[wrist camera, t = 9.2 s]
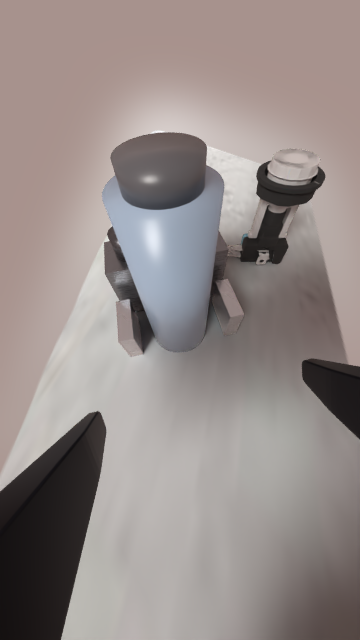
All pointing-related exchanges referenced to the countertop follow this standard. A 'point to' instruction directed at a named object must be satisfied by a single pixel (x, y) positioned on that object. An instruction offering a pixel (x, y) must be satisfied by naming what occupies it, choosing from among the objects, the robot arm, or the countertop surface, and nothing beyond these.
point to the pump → (167, 230)
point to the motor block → (131, 302)
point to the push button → (279, 203)
